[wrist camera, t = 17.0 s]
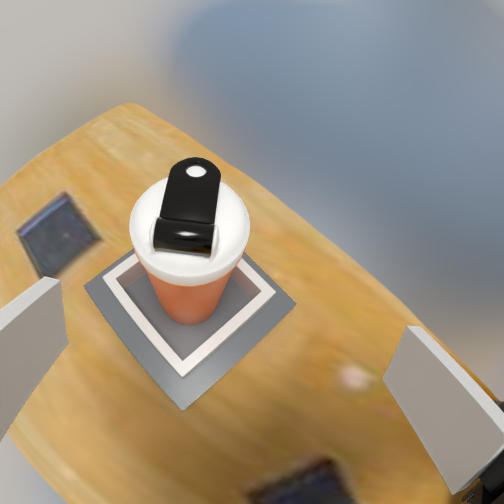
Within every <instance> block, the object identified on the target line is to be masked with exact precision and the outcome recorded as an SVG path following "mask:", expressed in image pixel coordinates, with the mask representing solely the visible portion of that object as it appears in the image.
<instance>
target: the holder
mask: <svg viewBox="0 0 504 504" xmlns="http://www.w3.org/2000/svg"><path fill="white" fill-rule="evenodd" d="M84 288H85V289H86V291H87V292H88V294H89V295H90V297H91V298H92V300H93V301H94V303H95V304H96V306H97V307H98V309H99V310H100V312H101V313H102V315H103V316H104V317H105V319H106V320H107V322H108V323H109V324H110V326H111V327H112V329H113V330H114V331H115V333H116V334H117V335H118V337H119V338H120V339H121V341H122V342H123V343H124V345H125V346H126V347H127V348H128V350H129V351H130V352H131V354H132V355H133V356H134V357H135V358H136V360H137V361H138V362H139V363H140V365H141V366H142V367H143V368H144V369H145V371H146V372H147V373H148V374H149V375H150V376H151V378H152V379H153V380H154V381H155V382H156V383H157V384H158V386H159V387H160V388H161V389H162V390H163V391H164V392H165V393H166V394H167V396H168V397H169V398H170V399H171V400H172V401H173V402H174V403H175V404H176V405H177V406H178V407H179V408H180V409H181V410H182V411H184V410H185V409H186V408H187V407H188V406H189V405H191V404H192V403H193V402H194V401H195V400H196V399H198V398H199V397H200V396H201V395H202V394H203V393H204V392H205V391H207V390H208V389H209V388H210V387H211V386H212V385H213V384H214V383H216V382H217V381H218V380H219V379H220V378H221V377H222V376H223V375H224V374H225V373H227V372H228V371H229V370H230V369H231V368H232V367H233V366H234V365H235V364H236V363H237V362H238V361H239V360H241V359H242V358H243V357H244V356H245V355H246V354H247V353H248V352H249V351H250V350H251V349H252V348H253V347H254V346H255V345H256V344H257V343H258V342H259V341H260V340H261V339H262V338H263V337H264V336H265V335H267V334H268V333H269V332H270V331H271V330H272V329H273V328H274V327H275V326H276V325H277V324H278V323H279V322H280V321H281V320H282V319H283V318H284V317H285V316H286V315H287V313H288V312H289V311H290V310H291V309H292V308H293V307H294V306H295V305H296V303H295V302H294V301H293V300H292V299H291V298H290V297H289V296H288V295H287V294H286V293H285V292H284V291H283V290H282V289H281V288H280V287H279V286H278V285H277V284H276V283H275V282H274V281H273V280H272V279H271V278H270V277H269V276H268V275H267V274H266V273H265V272H264V271H263V270H262V269H261V268H260V267H259V266H258V265H257V264H256V263H255V262H254V261H253V260H252V259H251V258H250V257H249V256H248V255H247V254H246V253H245V252H244V253H243V256H242V258H241V260H240V261H239V263H238V264H237V265H236V267H235V268H234V269H233V270H232V272H231V275H230V277H229V279H228V281H227V284H226V286H225V288H224V290H223V293H222V295H221V297H220V299H219V302H218V304H217V306H216V308H215V311H214V312H213V314H212V315H211V316H210V317H209V318H208V319H207V320H205V321H204V322H202V323H200V324H196V325H183V324H179V323H177V322H175V321H174V320H172V319H171V318H170V317H169V316H168V315H167V314H166V313H165V311H164V309H163V307H162V305H161V303H160V301H159V299H158V297H157V294H156V292H155V290H154V288H153V285H152V283H151V281H150V279H149V277H148V274H147V272H146V270H145V268H144V267H143V266H142V265H141V263H140V262H139V260H138V258H137V256H136V254H135V251H134V249H132V250H131V251H130V252H128V253H127V254H125V255H124V256H123V257H121V258H120V259H119V260H117V261H116V262H114V263H113V264H112V265H110V266H109V267H108V268H106V269H105V270H104V271H102V272H101V273H100V274H98V275H97V276H96V277H94V278H93V279H92V280H91V281H89V282H88V283H87V284H85V285H84Z"/></svg>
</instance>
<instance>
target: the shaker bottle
mask: <svg viewBox="0 0 504 504" xmlns="http://www.w3.org/2000/svg"><path fill="white" fill-rule="evenodd" d="M220 179H221V173H220V171H219V169H218V168H217V167H216V166H215V165H214V164H213V163H212V162H210V161H208V160H206V159H204V158H197V157H193V158H187V159H184V160H182V161H180V162H178V163H177V164H175V165H174V166H173V167H172V168H171V170H170V173H169V177H167V178H165V179H162V180H160V181H159V182H157V183H156V184H154V185H153V186H151V187H150V188H149V189H147V190H146V191H145V192H144V193H143V194H142V195H141V196H140V198H139V199H138V201H137V202H136V204H135V206H134V208H133V210H132V212H131V217H130V222H129V228H130V236H131V240H132V243H133V248H134V251H135V254H136V256H137V258H138V260H139V262H140V263H141V265H142V266H143V267H144V268H145V270H146V272H147V274H148V277H149V279H150V281H151V283H152V285H153V288H154V290H155V292H156V294H157V297H158V299H159V301H160V303H161V305H162V307H163V309H164V311H165V313H166V314H167V315H168V316H169V317H170V318H171V319H172V320H174V321H175V322H177V323H179V324H183V325H196V324H200V323H202V322H204V321H205V320H207V319H208V318H209V317H210V316H211V315H212V314H213V312H214V311H215V308H216V306H217V304H218V302H219V299H220V297H221V295H222V293H223V290H224V288H225V286H226V284H227V281H228V279H229V277H230V275H231V272H232V270H233V269H234V268H235V267H236V265H237V264H238V263H239V261H240V260H241V258H242V256H243V253H244V251H245V247H246V244H247V241H248V238H249V232H250V218H249V215H248V212H247V209H246V207H245V205H244V203H243V201H242V200H241V199H240V197H239V196H238V195H237V194H236V193H235V192H234V191H233V190H232V189H231V188H229V187H228V186H227V185H226V184H224V183H223V182H221V181H220Z"/></svg>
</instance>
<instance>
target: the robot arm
mask: <svg viewBox="0 0 504 504" xmlns="http://www.w3.org/2000/svg"><path fill="white" fill-rule="evenodd" d="M67 345H68V338H67V332H66V325H65V318H64V310H63V301H62V290H61V280H57V279H53V278H49V277H43V278H42V279H41V280H39V281H38V282H36V283H35V284H34V285H32V286H31V287H30V288H28V289H27V290H25V291H24V292H23V293H21V294H20V295H19V296H17V297H16V298H15V299H13V300H12V301H11V302H10V303H8V304H7V305H6V306H4V307H3V308H2V309H1V310H0V442H1V440H2V438H3V437H4V435H5V434H6V432H7V430H8V429H9V427H10V425H11V424H12V422H13V421H14V419H15V418H16V416H17V415H18V413H19V412H20V410H21V408H22V407H23V405H24V404H25V403H26V401H27V400H28V398H29V397H30V395H31V394H32V392H33V391H34V389H35V388H36V387H37V385H38V384H39V382H40V381H41V380H42V378H43V377H44V375H45V374H46V373H47V371H48V370H49V369H50V367H51V366H52V365H53V363H54V362H55V360H56V359H57V358H58V357H59V355H60V354H61V353H62V351H63V350H64V349H65V347H66V346H67ZM382 380H383V382H384V383H385V385H386V386H387V388H388V390H389V391H390V393H391V394H392V396H393V397H394V399H395V400H396V402H397V404H398V405H399V407H400V408H401V410H402V412H403V413H404V415H405V416H406V418H407V420H408V421H409V423H410V424H411V426H412V428H413V429H414V431H415V432H416V434H417V436H418V437H419V439H420V441H421V442H422V444H423V446H424V447H425V449H426V451H427V452H428V454H429V456H430V457H431V459H432V461H433V462H434V464H435V466H436V467H437V469H438V471H439V473H440V474H441V476H442V478H443V480H444V481H445V483H446V485H447V487H448V488H449V490H450V492H451V494H452V495H454V494H456V493H458V492H460V491H462V490H464V489H466V488H467V487H468V486H469V485H470V484H472V483H473V482H474V481H475V480H476V479H477V478H478V477H479V478H480V481H479V482H478V483H477V484H476V485H475V486H474V487H473V488H472V489H471V490H470V491H469V492H467V493H466V494H465V495H464V496H463V498H462V501H461V502H464V501H465V500H466V499H468V498H469V497H470V496H471V495H472V494H474V495H473V496H472V497H471V498H470V499H469V500H468V501H467V503H471V504H504V402H501V401H496V400H492V399H491V398H490V397H489V396H488V395H487V394H486V393H485V391H484V390H483V389H482V388H481V387H480V386H479V385H478V384H477V383H476V382H475V381H474V380H473V379H472V378H471V377H470V376H469V375H468V373H467V372H466V371H465V370H464V369H463V368H462V367H461V366H460V365H459V364H458V363H457V362H456V361H455V360H454V359H453V358H452V357H451V356H450V355H449V354H448V353H447V352H446V351H445V350H444V349H443V348H442V347H441V346H440V345H439V344H438V343H437V342H436V341H435V340H434V339H433V338H432V337H431V336H430V335H429V334H428V333H426V332H425V331H424V330H423V329H422V328H421V327H420V326H406V328H405V330H404V333H403V335H402V338H401V340H400V342H399V345H398V347H397V349H396V351H395V353H394V356H393V358H392V360H391V362H390V364H389V366H388V368H387V370H386V373H385V375H384V377H383V379H382Z"/></svg>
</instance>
